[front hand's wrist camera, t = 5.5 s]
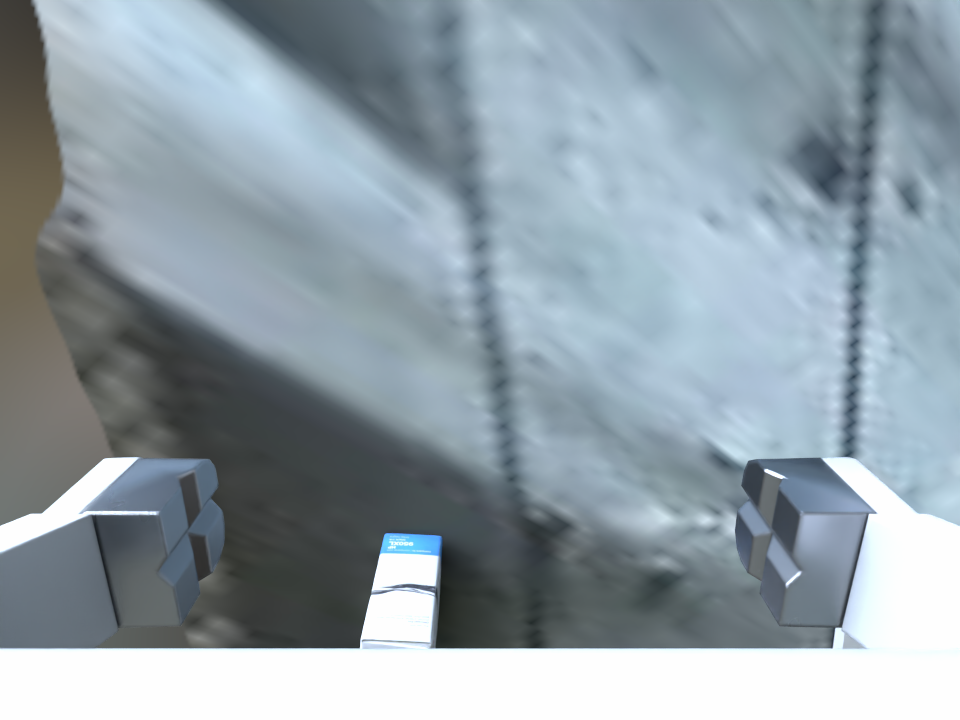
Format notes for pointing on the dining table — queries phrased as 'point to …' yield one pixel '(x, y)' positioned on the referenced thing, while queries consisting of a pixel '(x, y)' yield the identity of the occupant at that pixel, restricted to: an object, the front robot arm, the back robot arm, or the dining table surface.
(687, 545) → the dining table surface
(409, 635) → the ink box
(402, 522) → the dining table surface
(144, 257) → the dining table surface
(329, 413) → the dining table surface
